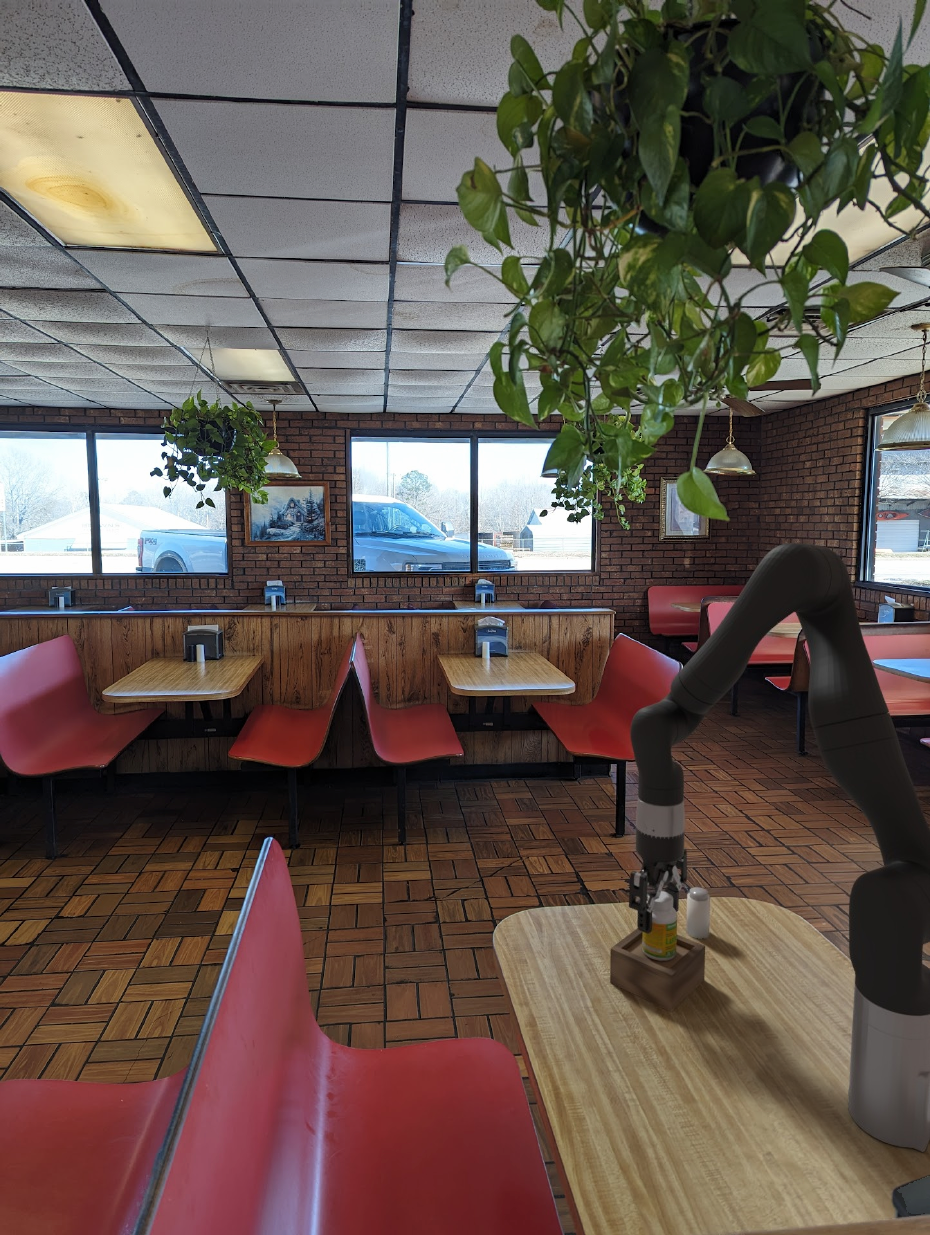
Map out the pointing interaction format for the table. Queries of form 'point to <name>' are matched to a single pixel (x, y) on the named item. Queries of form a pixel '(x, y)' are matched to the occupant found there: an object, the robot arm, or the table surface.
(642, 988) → the walnut tray
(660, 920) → the supplement bottle
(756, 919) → the table surface
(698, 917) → the sugar shaker
